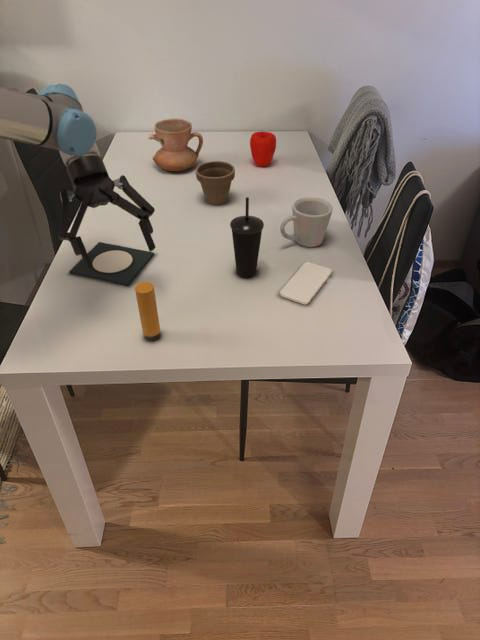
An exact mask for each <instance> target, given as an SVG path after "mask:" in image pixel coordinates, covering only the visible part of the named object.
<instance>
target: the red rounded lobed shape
mask: <svg viewBox="0 0 480 640" xmlns="http://www.w3.org/2000/svg"><path fill="white" fill-rule="evenodd" d="M276 137H277V136H276V135H275V134H274V133H272V132H270V131H255V132H253V133H252V134H251V136H250V138H249V146H250V153H251V158H252V160H253V163H254V164H255V165H256V166H258V167H263V168H264V167H267V166H269V165H270V164H271V162H272V160H273V158H274V155H275V152H276V148H277V138H276Z"/></svg>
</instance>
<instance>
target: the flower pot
mask: <svg viewBox="0 0 480 640" xmlns="http://www.w3.org/2000/svg"><path fill="white" fill-rule="evenodd" d="M194 171H195V177H196V180H197V181H198V182H199V183H200V187H201V189H202V192H203V195H204V199H205V200H206V202H207V203H208V204H209V205H216V206H217V205H222V204H226V202H228V199H229V196H230V195H229V194H230V190H231V186H232V182H233V181H234V179H235V177H236V176H235V175H236V169H235V166H234V165H233V164H232V163H229V162H227V161H221V160H212V161H207V162H204V163H201V164H199V165H197V167H196V168H195V170H194Z"/></svg>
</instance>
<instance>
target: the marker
mask: <svg viewBox="0 0 480 640" xmlns="http://www.w3.org/2000/svg"><path fill="white" fill-rule="evenodd" d="M154 286H155V285H154V284H153V283H152V282H149V281H141V282H138V283H137V284H136V285H135V287H134V291H135V292H134V293H135V297H136V303H137V308H138V314H139V318H140V320H139V321H140V323H141V330H142V334H143V335H144V336H145V338H146V339H147V340H148V341H155V340H157V339H158V338H159V334H160V332H161V326H160V319H159V312H158V306H157V298H156V291H155V287H154Z"/></svg>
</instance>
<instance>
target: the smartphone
mask: <svg viewBox="0 0 480 640" xmlns="http://www.w3.org/2000/svg"><path fill="white" fill-rule="evenodd" d="M332 271H333V270H332V269H331V268H329V267H325V266H322V265H319V264H317V263H313V262H310V261H305V262H304V263H303V265H301V267H300V268H299V269H298V270H297V271H296V272H295V274H294V275H293V276H292V277H291V278H290V279H289V280H288V282H287V283H286V284H284V286H283V287H282V289H281V290H280V291H279V296H280V297H282V298H284V299H288V300H290V301H293V302H296V303H298V304H302V305H305V306H306V305H308V304H309V303H310V302H311V301H312V300H313V298H314V297H315V295H316V294H317V293H318V292H319V290H320V289H321V288H322V286H323V285H324V284H325V283H326V281H327V280H328V279H329V277H330V276H331V275H332V273H333V272H332Z"/></svg>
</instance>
